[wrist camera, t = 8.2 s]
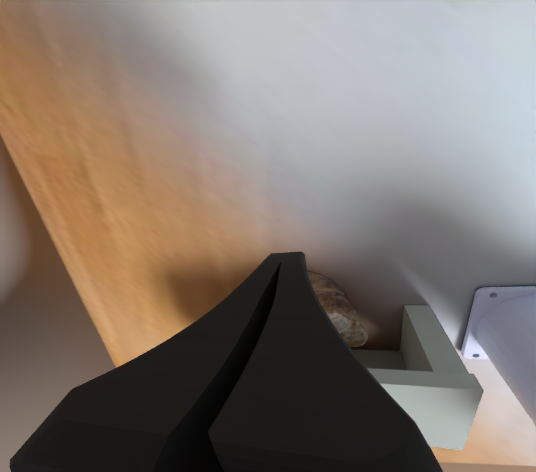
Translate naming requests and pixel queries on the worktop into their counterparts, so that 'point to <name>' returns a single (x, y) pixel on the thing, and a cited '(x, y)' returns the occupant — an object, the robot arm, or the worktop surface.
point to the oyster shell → (339, 310)
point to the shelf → (428, 379)
